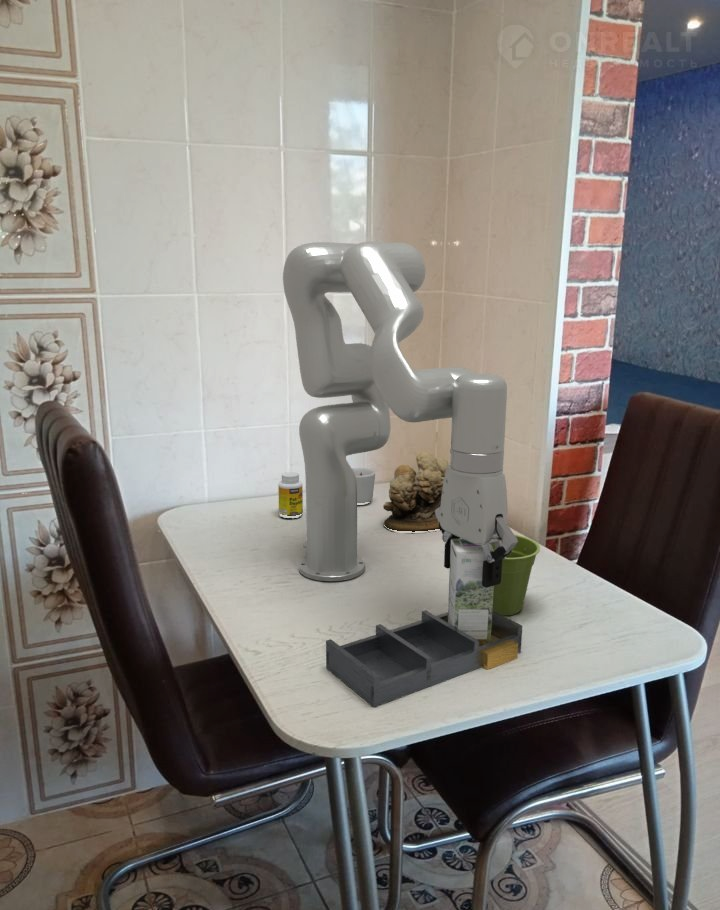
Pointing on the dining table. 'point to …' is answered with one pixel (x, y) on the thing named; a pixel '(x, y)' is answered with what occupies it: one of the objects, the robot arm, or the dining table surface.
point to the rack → (418, 656)
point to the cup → (364, 484)
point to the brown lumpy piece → (416, 495)
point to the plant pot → (514, 577)
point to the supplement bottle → (290, 494)
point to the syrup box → (469, 591)
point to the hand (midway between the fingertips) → (471, 574)
